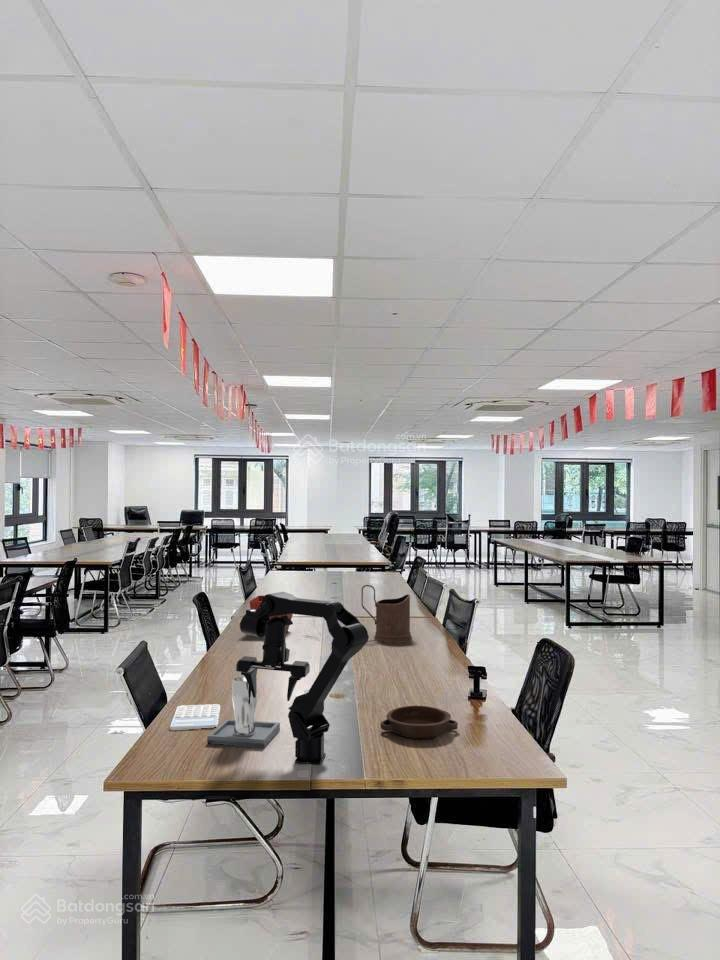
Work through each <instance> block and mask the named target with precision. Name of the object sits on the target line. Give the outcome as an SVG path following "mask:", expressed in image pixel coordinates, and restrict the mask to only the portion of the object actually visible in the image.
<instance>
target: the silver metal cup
mask: <svg viewBox="0 0 720 960" xmlns="http://www.w3.org/2000/svg"><path fill="white" fill-rule="evenodd" d="M257 680H258V678H257V677H256V682H257V683H258V681H257ZM231 700H232V708H233V714H234V720H235V726H234V731H233V733H234V735H236V736H240V737H246V736H251V735H253V734H255V732H256V730H255V724H254V721H255V714H256V710H257V709H256V708H257V704H258V692H257V693H256V697H255V698H254V697H253V695H252V692H251V689H250V686H249V684H248V682H247V680H246V678H245V676H244V675H238V676H237V675H236V676H235V677H233V678H232V688H231Z"/></svg>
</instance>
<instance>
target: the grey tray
mask: <svg viewBox="0 0 720 960" xmlns="http://www.w3.org/2000/svg"><path fill="white" fill-rule="evenodd" d="M254 724H255V730H256V732H255V734H253V735H251V736H246V737H240V736H236V735H234V733H233V731H234V726H235V719H231V718H230V719H229V718H228V719H227V718H226V719H225V720H224V721H223V722H222V723H220V724H219V725H218V726H217V728H214V729H213V730H212V731H211V732H210V733H209V734H208V735H207V737H206V741H207V742H206V744H207V743H211V744H210V745H213V744H224V745H223V746H227V745H236V746H235V747H241V746H245V747H246V748H258V749H265V748H266V747H267V745H268V744H270V742H271V741H273V739H274V738H275V736H277V735H278V733H280V731H281V730H280V729H281V722H274V721H259V720H254ZM273 737H274V738H273ZM245 747H244V748H245Z"/></svg>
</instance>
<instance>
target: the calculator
mask: <svg viewBox="0 0 720 960" xmlns="http://www.w3.org/2000/svg"><path fill="white" fill-rule="evenodd" d="M219 713H221V705H220V704H218V703H213V704H210V703H209V704H187V705H178V706H177V707H176V709H175V713H174V715H173V716H172V717H173V718H172V720H171V724H170V725H169V730H170V731H190V730H189V729H195V730H202V729H201V728H214V727H218V726H219V725H218V724H219V720H218V719H220V714H219ZM217 725H218V726H217ZM214 729H215V728H214Z"/></svg>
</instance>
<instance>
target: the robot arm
mask: <svg viewBox="0 0 720 960" xmlns="http://www.w3.org/2000/svg"><path fill="white" fill-rule="evenodd" d="M263 596H264V598H263V600H262V603H261V604H260V606H259V607H258V609H257V610H254V609H246V610H245V614H244V615H243V616H242V618H241V620H240V623H239V629H240V631H241V632H242V634H244V635H248V636H254V637H257V638H263V644H262V648H261V650H262V660H261V661H260V660H258V659H257V656H247V655H246V656H245V655H244V656H242V657H241V658H240V659H238V661H236V665H235V667H236V669H235V670H236V672H239V673H240V676H245V678H246V680H247V682H248V684H249V686H250V689H251V692H252V695H253V697H254V698H255V697H256V693H257V694H258V681H257V682H256V678H257V673H258V670H268V671H279V672H280V671H281V672H289V673H290V676H289V677H288V685H287V694H286V698H287V699H286V701H287V702H290V700H291V698H292V696H293V695H292V694H293V692H294V689H295V687H296V685H297V683H298V681H300V680H301V679H303V678H306V677H307V676H308V674H309V673H310V671H311V670H310V669H311V667H310V663H309V662H308V661H302V660H294V661H293V663H292V664H291V663H290V664H289V663H287V662H289V658H290V653H291V652H290V651H291V650H290V648H287V643H286V634H287V632H286V626H288V625H290V626H292V625H294V623H293V621H292V619H291V620H290V619H289V618H288V616H287V615H286V616H282V617H272V618H270V616H277V615H284V614H293V615H299V616H307V617H317V618H323V619H324V620H325V622H326V626H327V631H328V633H329V634H330V636H331V637H332V638H333V639H332V640H331V651H330V654H329V656H328V657H327V659H326V661H325V663H324V664H323V666H322V668H321V670H320V672H318V674H317V676H316V678H315V679H314V681H313V683H312V685H311V686H310V688H309V690H308V692H306V693H303V694H300V695H298V696H295V698H294V700H293V702H292V705H290V707H288V710H289V712H288V714H287V717H288V722H289V725H290V730H291V733H292V737H293V738H294V739H296V740H295V741H294V743H295V747H294V749H295V750H294V751H295V753H294V756H295V757H294V758H295V763H299V764H300V763H301V764H313V765H320V764H321V763H322V762H323V761H324V759H325V757H326V756H327V755H326V754H327V753H326V752H325V734H326V733H328V732H329V729H330V726H331V724H330V722H329V721H328V720H327V718H326V717H325V715H324V711H325V701H326V699H327V698H328V695H329V694H330V692H331V690H332V689H333V687H334V686H335V684H336V682H337V680H338V678H339V677H340V676H341V674H342V672H343V670H344V669H345V667H346V665H347V664H348V662H349V660H350V659H351V658H353V657H354V656H355V655H356V654H357V653H359V652H360V651H361V650H362V649H363V648H364V647H365V646H366V645H367V643H368V641H369V639H370V636H369V632H368V630H367V628H366V627H365V626H364V624H362V623H361V622H360V620H359V619H358V618H357V616H355V615H354V614H352V613H351V612H350V611H349V610H348V609H346V608H345V606H344V605H343V604H342V603H341V602H340V601H337V600H333V601H329V600H319V599H310V598H300V597H297V596H295V595H293V593H292V594H291V593H288V592H285V591H279V592H273V593H268V594H265V595H263ZM339 622H340V623H341V624H343V625H344V626H342V625H341V624H340V623H339Z"/></svg>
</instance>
